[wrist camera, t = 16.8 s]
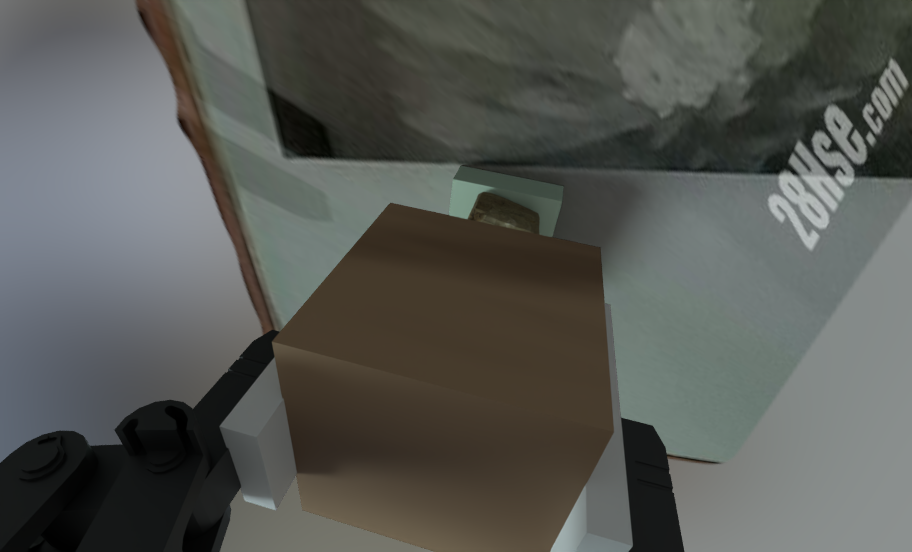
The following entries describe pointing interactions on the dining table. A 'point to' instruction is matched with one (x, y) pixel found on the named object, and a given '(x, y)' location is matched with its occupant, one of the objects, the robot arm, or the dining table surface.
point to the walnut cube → (450, 383)
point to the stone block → (504, 213)
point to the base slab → (506, 194)
